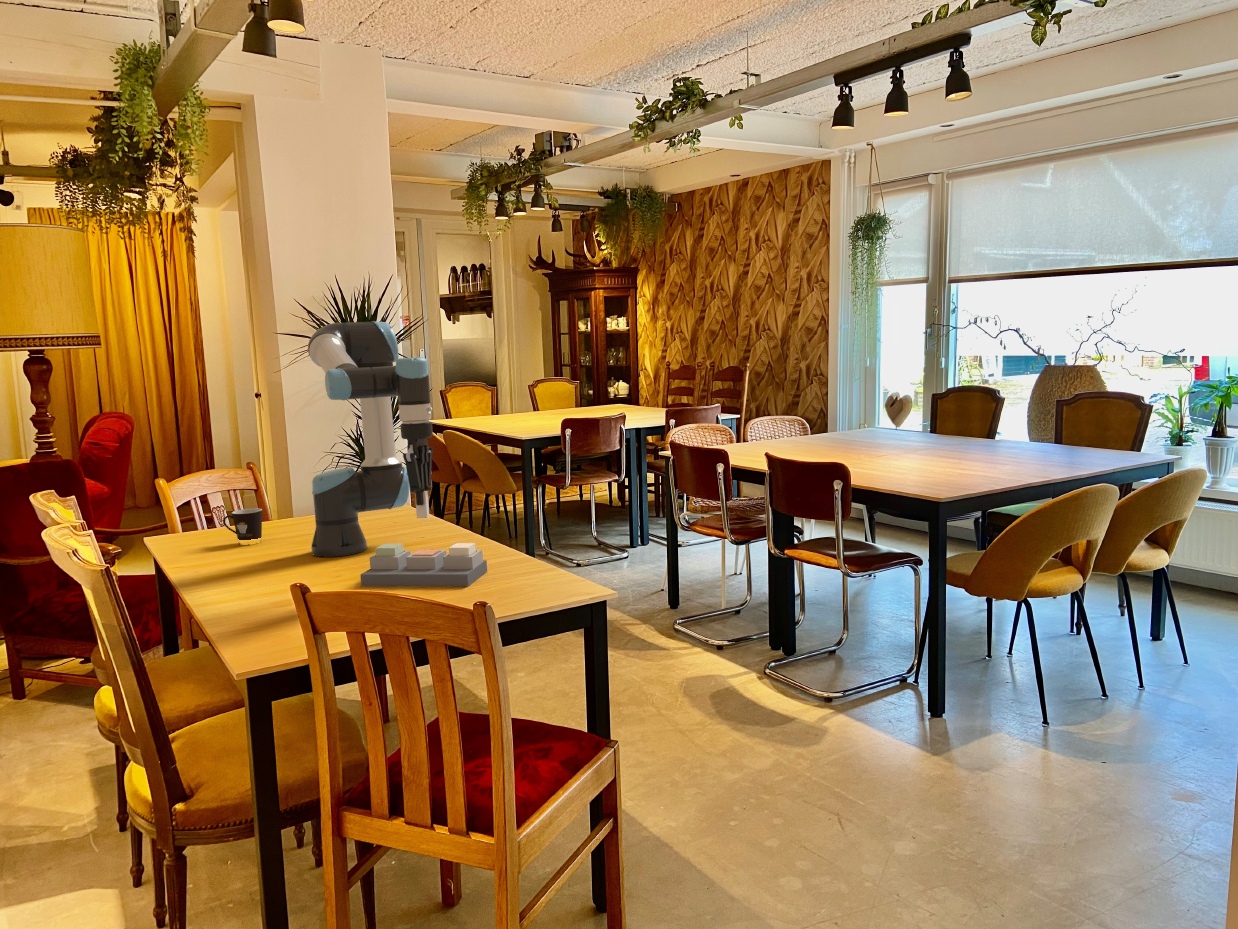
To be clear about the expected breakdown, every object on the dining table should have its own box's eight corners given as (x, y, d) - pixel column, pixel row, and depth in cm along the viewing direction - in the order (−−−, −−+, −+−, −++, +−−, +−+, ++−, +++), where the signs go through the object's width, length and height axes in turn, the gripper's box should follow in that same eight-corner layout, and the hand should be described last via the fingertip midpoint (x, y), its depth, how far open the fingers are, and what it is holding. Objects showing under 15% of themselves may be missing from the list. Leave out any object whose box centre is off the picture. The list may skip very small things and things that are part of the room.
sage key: (376, 560, 218) (375, 548, 218) (385, 556, 223) (384, 543, 223) (395, 560, 217) (394, 548, 217) (404, 556, 222) (403, 543, 222)
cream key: (449, 560, 215) (448, 547, 214) (457, 555, 220) (456, 543, 219) (469, 560, 214) (468, 547, 214) (476, 555, 219) (475, 543, 218)
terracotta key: (413, 567, 217) (412, 554, 216) (421, 562, 222) (420, 549, 221) (432, 567, 216) (431, 554, 215) (440, 562, 221) (439, 549, 220)
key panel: (361, 586, 213) (359, 562, 213) (386, 571, 227) (384, 548, 226) (468, 586, 208) (466, 561, 208) (487, 571, 222) (485, 548, 221)
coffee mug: (271, 541, 273) (268, 509, 272) (246, 547, 266) (243, 514, 264) (248, 538, 279) (244, 507, 278) (223, 544, 272) (219, 512, 271)
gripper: (420, 424, 207) (427, 523, 210) (440, 418, 220) (447, 512, 223) (389, 424, 208) (397, 523, 212) (412, 419, 221) (419, 512, 224)
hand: (423, 517), depth 217 cm, fingers closed
